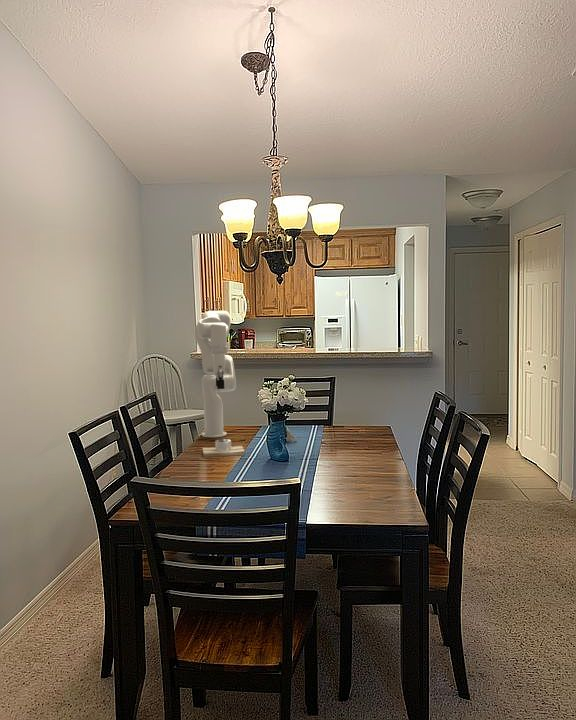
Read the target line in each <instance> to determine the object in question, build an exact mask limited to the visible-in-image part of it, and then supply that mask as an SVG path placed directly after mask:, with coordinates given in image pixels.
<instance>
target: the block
mask: <svg viewBox="0 0 576 720" xmlns="http://www.w3.org/2000/svg"><path fill="white" fill-rule="evenodd" d="M202 454H203V455H202V456H203V458H210V457H211V458H212V457H213V458H215V457H230V456H233V457H234V456H245V454H246V451H245V450H244V447H243V445H233V446H232V445H231V450H230V451H223V452H221V451H216V450H215V446H214V447H202Z"/></svg>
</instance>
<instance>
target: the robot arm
mask: <svg viewBox="0 0 576 720" xmlns="http://www.w3.org/2000/svg"><path fill="white" fill-rule="evenodd" d="M231 319H232V317H231V315H230V313H229V311H226V310H208V311H205V312H204V313H203V314H202V316H201V319H199V320H198V322H197V324H196V325H195V326H194V337H195V341H196V343H197V346H198V347H199V351H200V355H201V363H202V365H201V366H202V369H203V370H202V371H203V372H204V373H205V374H204V375H203V376H202V377H201V389H202V397H203V419H204V432H202V433H201V436H202V437H203V438H209V439H210V438H222V437H224V436H225V437H226V436H227V434H228V433H227V431H224V407H223V406H224V404H223V400H222V397H221V396H220V395H219V394H218V393H226V392H228V393H229V392H233V391H235V390H236V388H237V378H236V370H235V364H234V360H233V357H232V356H231V355H228V338H227V337H229V334H230V328H231Z"/></svg>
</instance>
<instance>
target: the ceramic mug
mask: <svg viewBox="0 0 576 720" xmlns="http://www.w3.org/2000/svg"><path fill="white" fill-rule="evenodd" d="M291 433H292V432H291V431H290V430H289V428H288V427H287V442H286V443H288V442H290V441H291V442H297V439H298V438H297V437H296V436H294V435H292V434H291Z"/></svg>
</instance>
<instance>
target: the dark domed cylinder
mask: <svg viewBox="0 0 576 720" xmlns="http://www.w3.org/2000/svg"><path fill="white" fill-rule="evenodd" d="M218 440H219V442H227V438H221V439H218Z"/></svg>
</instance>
